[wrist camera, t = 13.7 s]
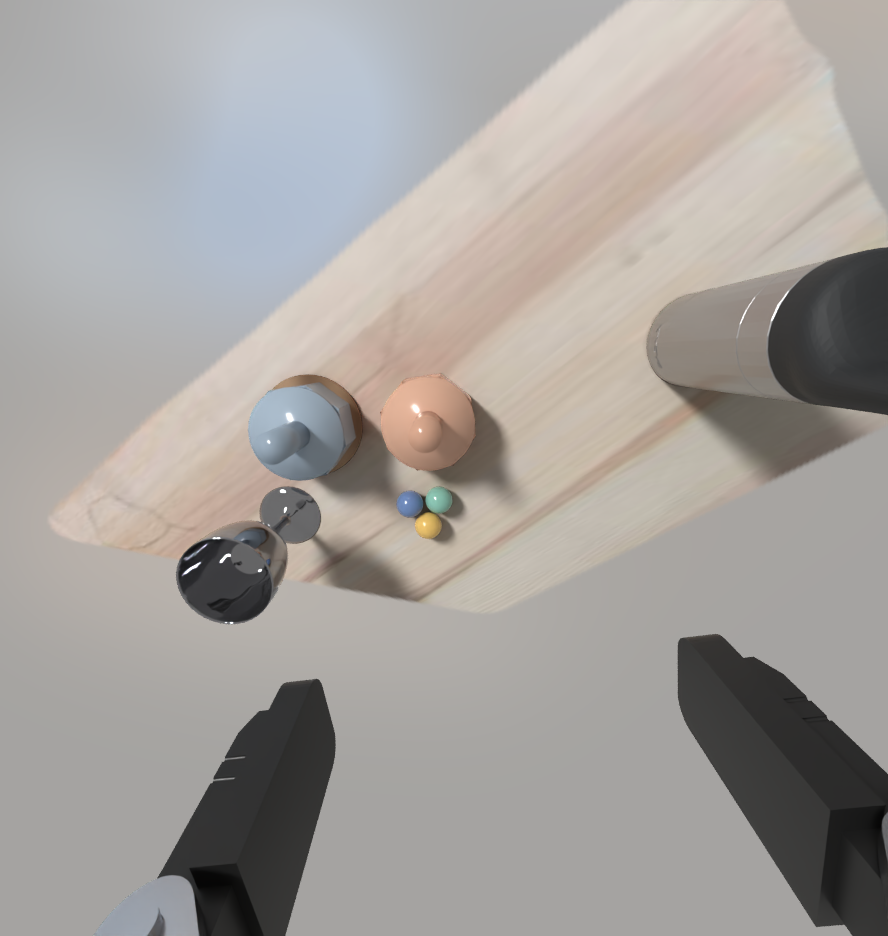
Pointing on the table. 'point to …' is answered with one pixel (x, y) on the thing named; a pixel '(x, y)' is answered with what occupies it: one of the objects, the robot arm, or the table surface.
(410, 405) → the terracotta cloche
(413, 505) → the marble inkblue
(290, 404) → the slate cloche
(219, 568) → the wine glass
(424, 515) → the marble amber
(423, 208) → the table surface
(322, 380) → the disc
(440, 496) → the marble seagreen
